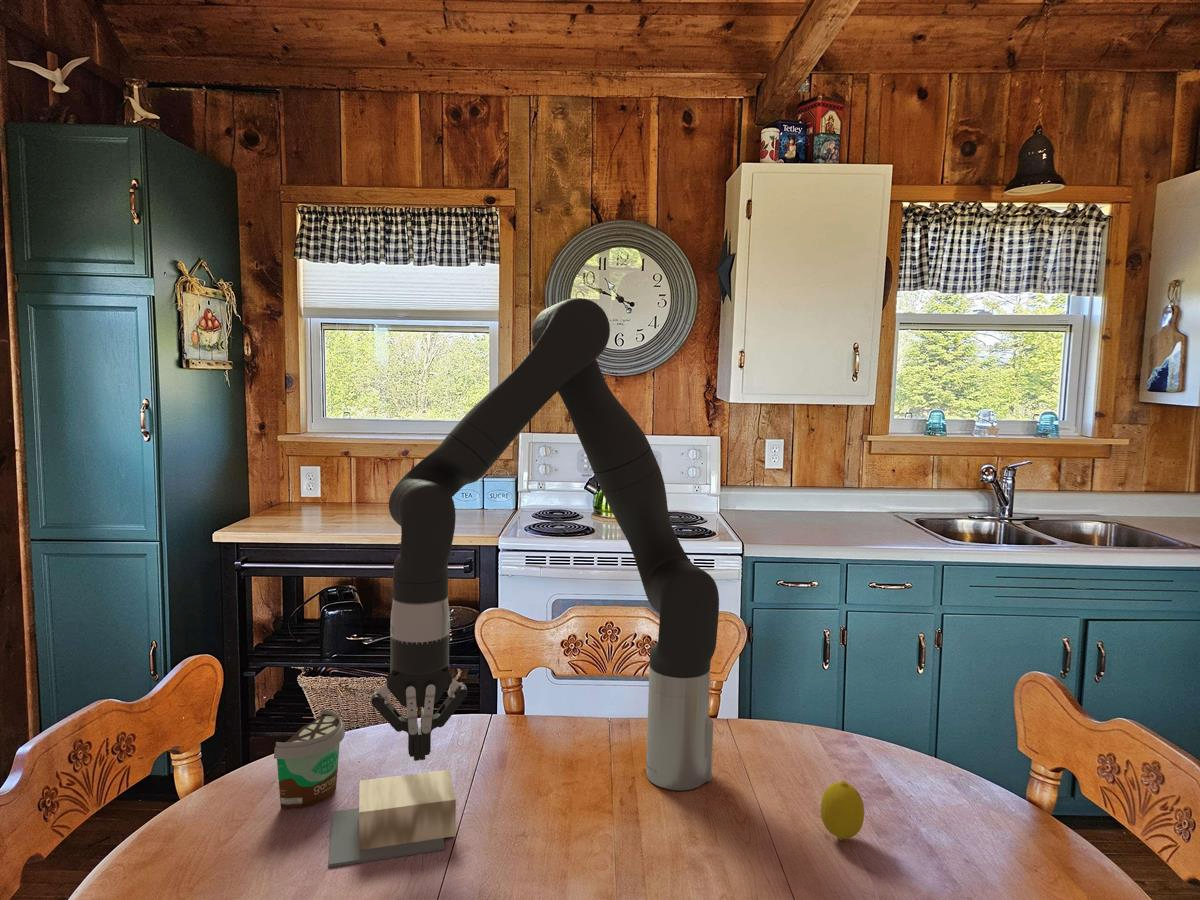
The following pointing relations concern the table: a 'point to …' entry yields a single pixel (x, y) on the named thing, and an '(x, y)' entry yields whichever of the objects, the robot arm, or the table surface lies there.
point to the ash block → (406, 809)
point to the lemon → (842, 810)
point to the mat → (348, 852)
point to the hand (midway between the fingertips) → (419, 757)
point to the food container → (310, 762)
